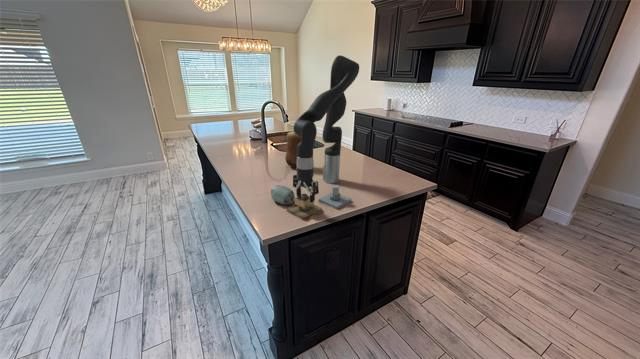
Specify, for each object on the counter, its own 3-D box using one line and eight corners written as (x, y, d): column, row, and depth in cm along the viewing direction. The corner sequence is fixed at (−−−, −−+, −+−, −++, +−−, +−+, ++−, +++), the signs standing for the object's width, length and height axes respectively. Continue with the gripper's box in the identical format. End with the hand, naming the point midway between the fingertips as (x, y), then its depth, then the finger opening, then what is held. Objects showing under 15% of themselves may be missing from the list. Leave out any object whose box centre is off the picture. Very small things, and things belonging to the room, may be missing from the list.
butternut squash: (306, 164, 183) (306, 130, 173) (303, 171, 171) (303, 134, 161) (287, 163, 184) (286, 129, 175) (283, 170, 172) (282, 133, 162)
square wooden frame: (294, 203, 119) (294, 198, 117) (304, 199, 123) (304, 193, 122) (304, 208, 115) (304, 202, 113) (314, 203, 119) (314, 198, 118)
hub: (318, 201, 130) (318, 186, 127) (333, 194, 138) (333, 179, 135) (336, 209, 122) (337, 193, 119) (351, 201, 131) (352, 186, 127)
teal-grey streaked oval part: (301, 196, 127) (291, 182, 122) (289, 210, 123) (278, 196, 118) (286, 194, 137) (275, 180, 132) (274, 206, 133) (263, 193, 128)
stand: (286, 211, 120) (286, 195, 117) (304, 202, 128) (304, 187, 125) (304, 220, 112) (304, 203, 109) (322, 211, 121) (322, 195, 117)
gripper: (288, 164, 113) (289, 196, 119) (311, 171, 104) (310, 206, 110) (300, 160, 118) (300, 192, 124) (322, 167, 110) (322, 201, 116)
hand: (305, 198), depth 117 cm, fingers open, 8 cm apart
